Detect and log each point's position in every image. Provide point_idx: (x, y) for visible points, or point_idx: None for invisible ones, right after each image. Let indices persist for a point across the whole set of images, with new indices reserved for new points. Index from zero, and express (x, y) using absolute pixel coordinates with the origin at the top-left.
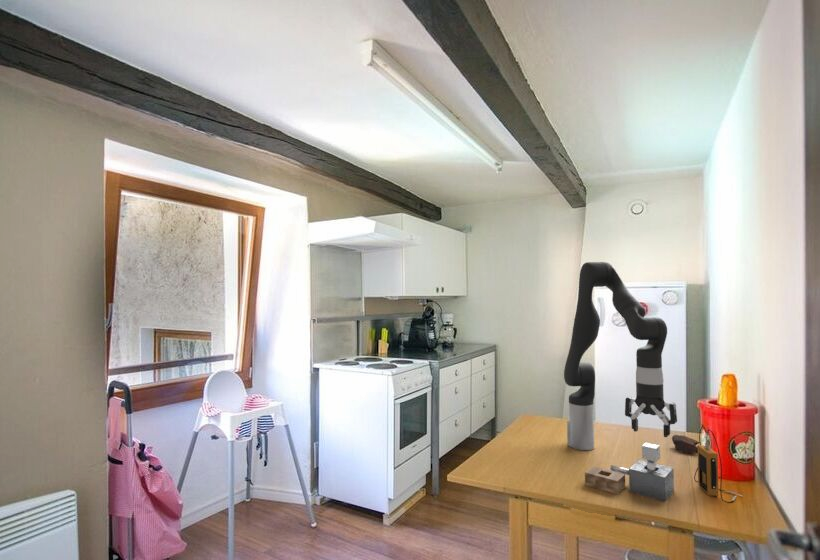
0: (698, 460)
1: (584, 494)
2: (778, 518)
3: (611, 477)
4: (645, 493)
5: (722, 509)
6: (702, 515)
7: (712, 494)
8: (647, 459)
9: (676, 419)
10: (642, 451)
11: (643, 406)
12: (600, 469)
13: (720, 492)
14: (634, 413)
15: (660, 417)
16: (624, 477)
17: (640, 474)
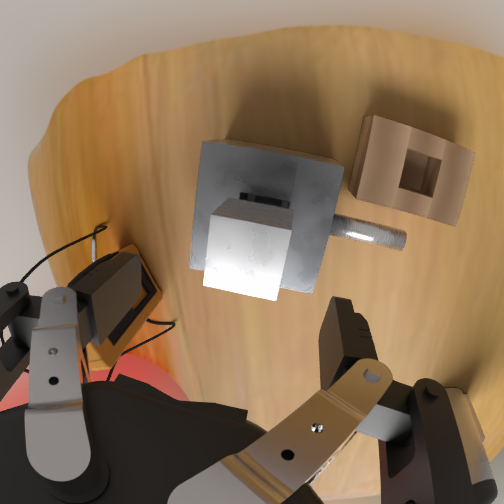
0: (129, 334)
1: (444, 78)
2: (36, 199)
3: (397, 142)
4: (283, 148)
5: (104, 177)
6: (136, 107)
7: (125, 247)
8: (268, 205)
9: (9, 339)
10: (290, 218)
11: (219, 490)
12: (435, 205)
13: (98, 231)
14: (363, 409)
15: (62, 327)
16: (355, 189)
17: (297, 155)
